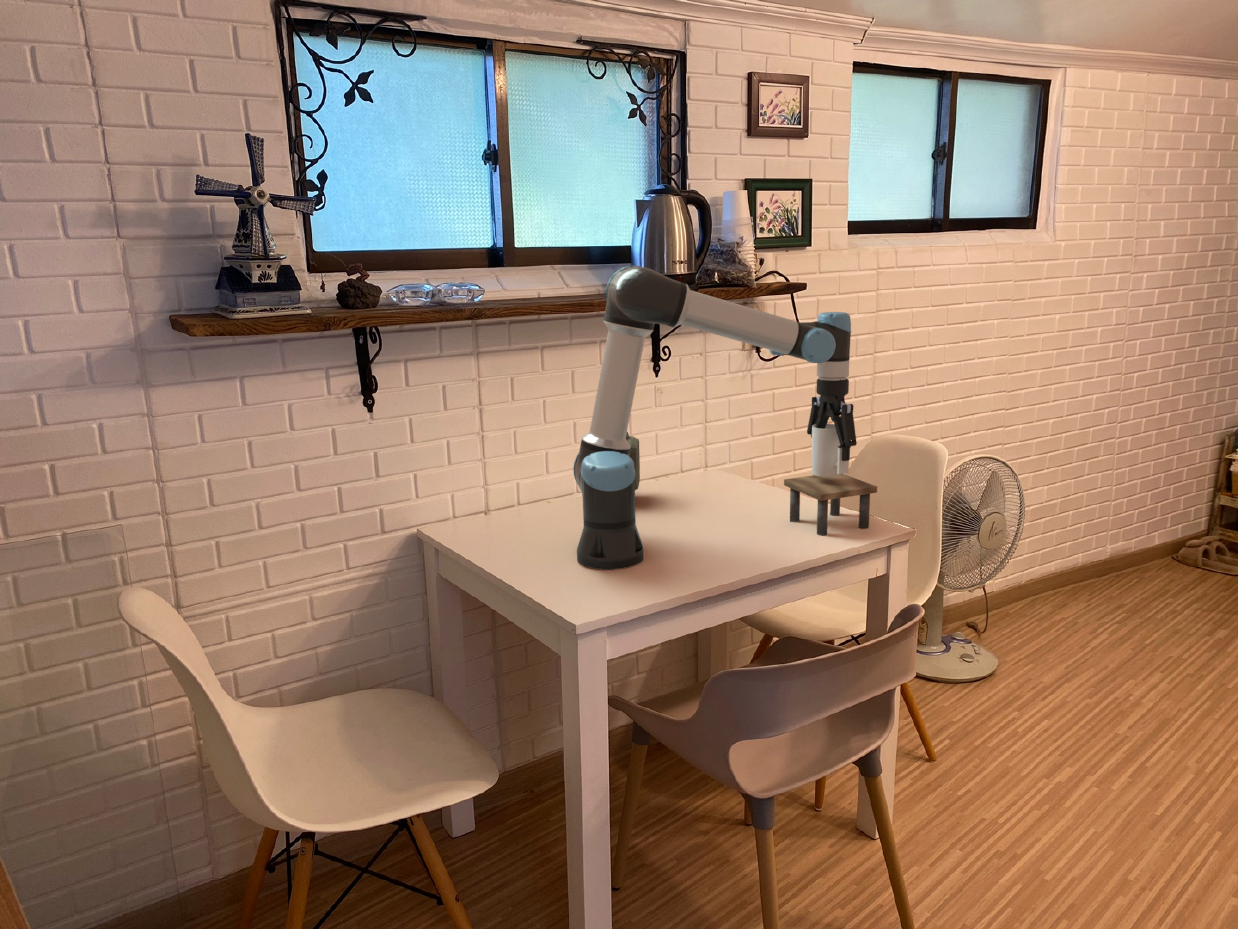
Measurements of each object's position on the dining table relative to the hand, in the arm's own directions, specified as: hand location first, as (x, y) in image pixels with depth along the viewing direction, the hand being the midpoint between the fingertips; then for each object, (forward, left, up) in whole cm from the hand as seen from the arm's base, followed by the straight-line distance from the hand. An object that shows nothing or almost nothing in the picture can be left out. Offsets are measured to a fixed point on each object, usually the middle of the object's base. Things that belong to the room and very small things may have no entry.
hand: (830, 468), depth 225 cm
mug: (0, 0, -2) cm, 2 cm away
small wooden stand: (0, 0, -14) cm, 14 cm away
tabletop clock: (-38, +42, -14) cm, 58 cm away
